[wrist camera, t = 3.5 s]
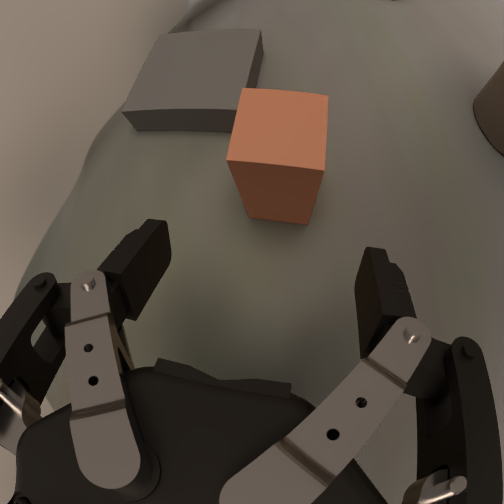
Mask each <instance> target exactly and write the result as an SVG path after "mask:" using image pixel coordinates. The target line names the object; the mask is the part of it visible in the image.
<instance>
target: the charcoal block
mask: <svg viewBox="0 0 504 504" xmlns="http://www.w3.org/2000/svg"><path fill="white" fill-rule="evenodd" d="M263 54H264V52H263V43H262V34H261V29H225V30H204V31H191V32H181V33H172V34H164V35H160V36H159V37H158V39H157V41H156V42H155V44H154V46H153V48H152V50H151V51H150V53H149V55H148V57H147V59H146V61H145V63H144V64H143V66H142V69H141V70H140V72H139V74H138V76H137V78H136V81H135V83H134V85H133V87H132V89H131V91H130V93H129V96H128V98H127V100H126V102H125V104H124V107H123V109H122V111H121V112H122V113H123V114H124V116H125V117H126V118H127V119H128V120H129V122H130V123H131V124H132V125H133V126H134V128H135V129H136V130H137V131H209V132H228V133H232V131H233V126H234V122H235V117H236V113H237V108H238V104H239V100H240V96H241V91H242V88H255V89H256V84H257V80H258V76H259V71H260V67H261V63H262V58H263Z"/></svg>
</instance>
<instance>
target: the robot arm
mask: <svg viewBox="0 0 504 504" xmlns="http://www.w3.org/2000/svg"><path fill="white" fill-rule="evenodd" d="M474 113H475V116H476V119H477V121H478V124H479V126H480V127H481V129H482V131H483V133H484V134H485V136H486V137H487V139H488V140H489V141H490V142H491V143H492V145H493V146H494V147H495V148H496V149H497V150H498V151H499V152H500V153H502V154H503V155H504V61H503V63H502V64H501V66H500V67H499V68H498V70H497V71H496V72H495V74H494V75H493V76H492V78H491V79H490V80H489V81H488V83H487V84H486V85H485V86H484V88H483V89H482V90H481V92H480V93H479V94H478V95H477V97H476V98H475V100H474ZM170 261H171V246H170V239H169V232H168V225H167V222H166V221H164V220H155V219H147V220H146V221H145V222H144V224H143V225H142V226H141V227H140V228H139V229H136V230H134V231H132V232H131V233H129V234H127V235H126V236H125V237H124V238H123V239H122V241H121V242H120V244H118V245H117V246H116V247H115V250H113V251H112V252H111V253H110V254H109V256H108V257H107V258H106V259H105V260H104V262H103V263H102V264H101V265H100V266H99V268H98V269H97V270H88V271H85V272H82V273H81V274H79V275H78V276H76V277H75V278H74V280H73V281H72V283H57V281H56V278H55V276H54V275H53V274H52V273H48V272H45V273H41V274H38V275H36V276H35V277H33V278H32V279H31V280H30V281H29V282H28V284H27V285H26V286H25V287H24V289H23V290H22V291H21V292H20V294H19V295H18V296H17V298H16V299H15V300H14V301H13V303H12V304H11V305H10V307H9V308H8V309H7V311H6V312H5V314H4V315H3V316H2V318H1V319H0V445H1V446H2V447H4V448H5V449H7V450H9V451H10V452H11V453H13V454H14V455H16V467H17V472H16V474H17V475H16V487H15V492H14V495H13V497H12V499H11V500H10V501H9V503H8V504H388V503H387V502H386V500H385V499H384V498H383V497H382V495H381V494H380V493H379V491H378V490H377V489H376V487H375V486H374V485H373V483H372V482H371V481H370V479H369V478H368V477H367V475H366V474H365V473H364V471H363V470H362V469H361V467H360V466H359V465H358V463H357V462H356V461H355V459H354V456H355V455H356V454H357V453H358V452H359V450H360V449H361V448H362V447H363V446H364V444H365V443H366V442H367V441H368V440H369V438H370V437H371V436H372V435H373V433H374V432H375V431H376V429H377V428H378V427H379V425H380V424H381V423H382V421H383V420H384V419H385V417H386V416H387V415H388V413H389V412H390V410H391V409H392V408H393V406H394V405H395V403H396V402H397V400H398V399H399V397H400V396H401V394H402V393H406V394H409V395H412V396H415V397H416V411H417V481H415V482H414V483H412V484H411V485H410V486H409V487H408V488H407V490H406V492H405V494H404V497H403V501H402V504H502V500H503V481H502V459H501V447H500V438H499V429H498V422H497V416H496V410H495V404H494V399H493V394H492V389H491V384H490V380H489V376H488V371H487V367H486V364H485V360H484V356H483V353H482V350H481V348H480V347H479V345H478V344H477V343H476V342H475V341H473V340H472V339H470V338H468V337H458V338H456V339H455V340H454V341H453V343H452V344H451V345H450V344H447V343H444V342H441V341H439V340H436V339H434V338H432V337H431V333H430V331H429V329H428V327H427V326H426V325H425V324H424V323H423V322H421V321H420V320H418V319H417V318H416V314H415V310H414V307H413V303H412V300H411V296H410V293H409V292H408V287H407V284H406V280H405V277H404V274H403V272H402V271H401V269H400V268H399V267H398V266H397V265H396V264H395V263H390V262H389V259H388V256H387V253H386V250H385V249H380V248H373V247H366V249H365V251H364V254H363V257H362V261H361V264H360V267H359V270H358V274H357V277H356V281H355V301H356V310H357V320H358V331H359V344H360V359H362V360H361V361H360V362H359V364H358V365H357V366H356V367H355V368H354V369H353V370H352V371H351V373H350V374H349V375H348V376H347V377H346V378H345V379H344V380H343V381H342V382H341V383H340V384H339V386H338V387H337V388H336V389H335V390H334V391H333V392H332V393H331V394H330V395H329V396H328V397H327V398H326V399H325V400H324V401H323V402H322V403H321V404H320V405H319V406H318V407H317V408H315V407H314V406H313V405H312V404H311V403H309V402H308V401H306V400H305V399H303V398H301V397H299V396H297V395H294V394H292V393H290V390H291V384H290V383H282V382H275V381H268V380H261V379H244V380H218V379H216V378H214V377H211V376H209V375H207V374H205V373H203V372H201V371H199V370H197V369H195V368H193V367H191V366H189V365H185V364H181V363H177V362H173V361H169V360H165V359H161V358H158V360H157V362H156V364H155V366H154V367H142V368H137V369H135V367H134V364H133V361H132V358H131V354H130V350H129V346H128V342H127V338H126V333H125V329H124V326H123V322H124V320H125V318H127V319H130V320H134V321H136V320H137V318H138V317H139V315H140V313H141V311H142V310H143V308H144V306H145V305H146V303H147V301H148V299H149V298H150V296H151V294H152V293H153V291H154V289H155V288H156V286H157V284H158V283H159V281H160V279H161V278H162V276H163V274H164V273H165V271H166V270H167V268H168V266H169V264H170ZM41 320H43V322H44V324H45V325H46V328H45V329H44V331H43V332H42V334H41V336H40V337H39V339H38V340H37V342H36V344H35V345H34V347H32V344H31V336H32V333H33V332H34V330H35V329H36V327H37V326H38V324H39V323H40V321H41ZM65 356H66V362H67V373H68V383H69V391H70V398H71V403H70V404H68V405H66V406H64V407H62V408H60V409H59V410H57V411H55V412H53V413H51V414H49V415H47V416H45V417H44V418H42V417H41V416H40V414H41V408H40V405H41V403H42V401H43V399H44V397H45V395H46V393H47V391H48V389H49V387H50V385H51V383H52V381H53V379H54V377H55V375H56V373H57V371H58V369H59V367H60V366H61V364H62V362H63V360H64V358H65Z"/></svg>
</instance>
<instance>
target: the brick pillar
mask: <svg viewBox="0 0 504 504" xmlns="http://www.w3.org/2000/svg"><path fill="white" fill-rule="evenodd" d="M327 116H328V96H327V95H320V94H312V93H304V92H295V91H284V90H272V89H255V88H242V91H241V96H240V100H239V104H238V108H237V113H236V117H235V122H234V126H233V131H232V135H231V140H230V144H229V149H228V154H227V159H226V161H227V163H228V166H229V168H230V171H231V173H232V176H233V178H234V181H235V183H236V186H237V188H238V191H239V193H240V196H241V198H242V201H243V203H244V206H245V208H246V211H247V213H248V216H249V218H256V219H264V220H272V221H280V222H288V223H296V224H303V225H308V223H309V219H310V216H311V213H312V210H313V207H314V203H315V200H316V197H317V194H318V190H319V187H320V184H321V181H322V177H323V174H324V170H325V155H326V138H327Z"/></svg>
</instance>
